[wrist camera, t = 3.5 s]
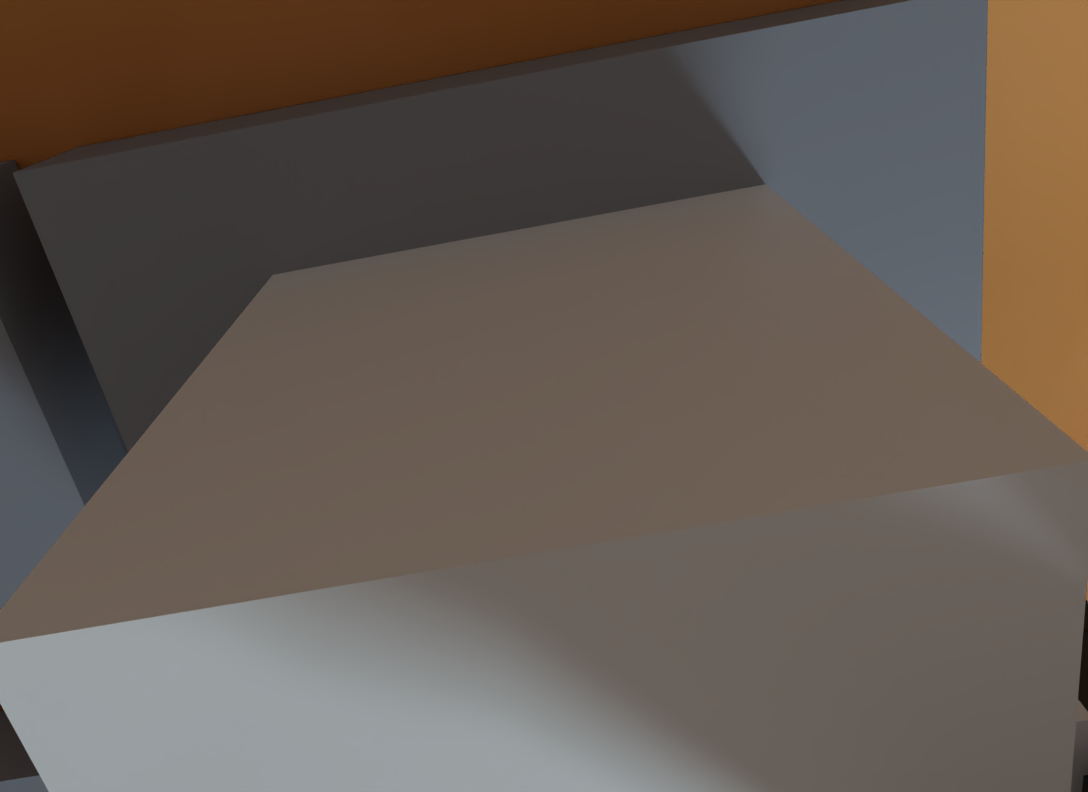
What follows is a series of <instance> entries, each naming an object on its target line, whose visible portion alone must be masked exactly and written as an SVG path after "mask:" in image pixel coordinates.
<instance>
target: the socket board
mask: <svg viewBox="0 0 1088 792" xmlns="http://www.w3.org/2000/svg"><path fill="white" fill-rule="evenodd" d="M16 171H18V167H17V165H16V162H15V160H10V161H5V162H0V610H1V608H2V607H3V606H4V605H5V603H6V602H7V601H8V600H9V599H10V597H11V596H12V595H13V594H14V592H15V591H16V590H17V589H18V587H19V586H20V585H21V584H22V583H23V581H24V580H25V579H26V578H27V576H28V575H29V574H30V573H31V571H32V570H33V569H34V568H35V567H36V565H37V564H38V563H39V562H40V560H41V559H42V558H43V557H44V556H45V554H46V553H47V552H48V551H49V549H50V548H51V547H52V546H53V544H54V543H55V542H56V541H57V540H58V538H59V537H60V536H61V535H62V533H63V532H64V531H65V530H66V528H67V527H68V526H69V525H70V524H71V522H72V521H73V520H74V519H75V517H76V516H77V515H78V514H79V512H80V511H81V510H82V509H83V508H84V506H85V505H86V504H87V503H88V501H89V500H90V499H91V498H92V496H93V495H94V494H95V493H96V492H97V490H98V489H99V488H100V487H101V485H102V484H103V483H104V482H105V481H106V479H107V478H108V477H109V476H110V474H111V473H112V472H113V471H114V469H115V468H116V467H117V466H118V465H119V463H120V462H121V461H122V460H123V458H124V457H125V456H126V455H127V453H128V451H127V448H126V446H125V443H124V441H123V439H122V436H121V434H120V431H119V429H118V427H117V424H116V422H115V419H114V417H113V415H112V412H111V410H110V407H109V405H108V402H107V400H106V398H105V395H104V393H103V390H102V388H101V386H100V383H99V381H98V378H97V376H96V374H95V371H94V369H93V366H92V364H91V361H90V359H89V357H88V354H87V352H86V349H85V347H84V345H83V342H82V340H81V337H80V335H79V333H78V330H77V328H76V325H75V323H74V320H73V318H72V316H71V313H70V311H69V308H68V306H67V304H66V301H65V299H64V296H63V294H62V292H61V289H60V287H59V284H58V282H57V279H56V277H55V275H54V272H53V270H52V267H51V265H50V263H49V260H48V258H47V255H46V253H45V250H44V248H43V246H42V243H41V241H40V238H39V236H38V234H37V231H36V229H35V226H34V224H33V222H32V219H31V217H30V214H29V212H28V209H27V207H26V205H25V202H24V200H23V197H22V195H21V193H20V190H19V188H18V185H17V183H16V181H15V178H14V176H13V172H16ZM0 792H49V791H48V789H47V788H46V786H45V784H44V782H43V780H42V779H41V777H40V775H39V773H38V771H37V769H36V768H35V766H34V764H33V762H32V760H31V759H30V757H29V755H28V753H27V751H26V749H25V748H24V746H23V744H22V742H21V740H20V739H19V737H18V735H17V733H16V731H15V729H14V728H13V726H12V724H11V722H10V720H9V719H8V717H7V715H6V713H5V711H0Z"/></svg>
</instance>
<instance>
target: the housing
mask: <svg viewBox="0 0 1088 792" xmlns="http://www.w3.org/2000/svg"><path fill="white" fill-rule="evenodd" d="M1087 578H1088V452H1087V451H1086V450H1085V449H1083V448H1082V447H1081V446H1080V445H1079V444H1077V443H1076V442H1075V441H1074V440H1073V439H1071V438H1070V437H1069V436H1068V435H1067V434H1065V433H1064V432H1063V431H1062V430H1061V429H1059V428H1058V427H1057V426H1056V425H1055V424H1053V423H1052V422H1051V421H1050V420H1048V419H1047V418H1046V417H1045V416H1044V415H1042V414H1041V413H1040V412H1039V411H1038V410H1036V409H1035V408H1034V407H1033V406H1032V405H1030V404H1029V403H1028V402H1027V401H1026V400H1024V399H1023V398H1022V397H1021V396H1020V395H1018V394H1017V393H1016V392H1015V391H1014V390H1012V389H1011V388H1010V387H1009V386H1008V385H1006V384H1005V383H1004V382H1003V381H1002V380H1000V379H999V378H998V377H997V376H996V375H994V374H993V373H992V372H991V371H990V370H988V369H987V368H986V367H985V366H984V365H982V364H981V363H980V362H979V361H977V360H976V359H975V358H974V357H973V356H971V355H970V354H969V353H968V352H967V351H965V350H964V349H963V348H962V347H961V346H959V345H958V344H957V343H956V342H955V341H953V340H952V339H951V338H950V337H949V336H947V335H946V334H945V333H944V332H943V331H941V330H940V329H939V328H938V327H937V326H935V325H934V324H933V323H932V322H931V321H929V320H928V319H927V318H926V317H925V316H923V315H922V314H921V313H920V312H919V311H917V310H916V309H915V308H914V307H913V306H911V305H910V304H909V303H908V302H907V301H905V300H904V299H903V298H902V297H900V296H899V295H898V294H897V293H896V292H894V291H893V290H892V289H891V288H890V287H888V286H887V285H886V284H885V283H884V282H882V281H881V280H880V279H879V278H878V277H876V276H875V275H874V274H873V273H872V272H870V271H869V270H868V269H867V268H866V267H864V266H863V265H862V264H861V263H860V262H858V261H857V260H856V259H855V258H854V257H852V256H851V255H850V254H849V253H848V252H846V251H845V250H844V249H843V248H842V247H840V246H839V245H838V244H837V243H836V242H834V241H833V240H832V239H831V238H829V237H828V236H827V235H826V234H825V233H823V232H822V231H821V230H820V229H819V228H817V227H816V226H815V225H814V224H813V223H811V222H810V221H809V220H808V219H807V218H805V217H804V216H803V215H802V214H801V213H799V212H798V211H797V210H796V209H795V208H793V207H792V206H791V205H790V204H789V203H787V202H786V201H785V200H784V199H783V198H781V197H780V196H779V195H778V194H777V193H775V192H774V191H773V190H772V189H771V188H769V187H768V186H767V185H766V184H764V185H758V186H753V187H747V188H742V189H737V190H731V191H726V192H720V193H715V194H709V195H704V196H698V197H693V198H688V199H682V200H677V201H671V202H666V203H660V204H655V205H649V206H644V207H639V208H633V209H628V210H622V211H617V212H611V213H606V214H601V215H595V216H590V217H584V218H579V219H573V220H568V221H562V222H557V223H552V224H546V225H541V226H535V227H530V228H524V229H519V230H513V231H508V232H503V233H497V234H492V235H486V236H481V237H475V238H470V239H465V240H459V241H454V242H448V243H443V244H437V245H432V246H426V247H421V248H416V249H410V250H405V251H399V252H394V253H388V254H383V255H378V256H372V257H367V258H361V259H356V260H350V261H345V262H339V263H334V264H329V265H323V266H318V267H312V268H307V269H301V270H296V271H290V272H285V273H280V274H274V275H272V276H271V278H270V279H269V280H268V281H267V283H266V284H265V285H264V286H263V287H262V289H261V290H260V291H259V292H258V294H257V295H256V296H255V297H254V299H253V300H252V301H251V302H250V303H249V305H248V306H247V307H246V308H245V310H244V311H243V312H242V313H241V315H240V316H239V317H238V318H237V319H236V321H235V322H234V323H233V324H232V326H231V327H230V328H229V329H228V331H227V332H226V333H225V334H224V335H223V337H222V338H221V339H220V340H219V342H218V343H217V344H216V345H215V346H214V348H213V349H212V350H211V351H210V353H209V354H208V355H207V356H206V358H205V359H204V360H203V361H202V362H201V364H200V365H199V366H198V367H197V369H196V370H195V371H194V372H193V374H192V375H191V376H190V377H189V378H188V380H187V381H186V382H185V383H184V385H183V386H182V387H181V388H180V390H179V391H178V392H177V393H176V394H175V396H174V397H173V398H172V399H171V401H170V402H169V403H168V404H167V406H166V407H165V408H164V409H163V410H162V412H161V413H160V414H159V415H158V417H157V418H156V419H155V420H154V421H153V423H152V424H151V425H150V426H149V428H148V429H147V430H146V431H145V433H144V434H143V435H142V436H141V437H140V439H139V440H138V441H137V442H136V444H135V445H134V446H133V447H132V449H131V450H130V451H129V452H128V453H127V455H126V456H125V457H124V458H123V460H122V461H121V462H120V463H119V465H118V466H117V467H116V468H115V469H114V471H113V472H112V473H111V474H110V476H109V477H108V478H107V479H106V481H105V482H104V483H103V484H102V485H101V487H100V488H99V489H98V490H97V492H96V493H95V494H94V495H93V496H92V498H91V499H90V500H89V501H88V503H87V504H86V505H85V506H84V508H83V509H82V510H81V511H80V512H79V514H78V515H77V516H76V517H75V519H74V520H73V521H72V522H71V524H70V525H69V526H68V527H67V528H66V530H65V531H64V532H63V533H62V535H61V536H60V537H59V538H58V540H57V541H56V542H55V543H54V544H53V546H52V547H51V548H50V549H49V551H48V552H47V553H46V554H45V556H44V557H43V558H42V559H41V560H40V562H39V563H38V564H37V565H36V567H35V568H34V569H33V570H32V571H31V573H30V574H29V575H28V576H27V578H26V579H25V580H24V581H23V583H22V584H21V585H20V586H19V587H18V589H17V590H16V591H15V592H14V594H13V595H12V596H11V597H10V599H9V600H8V601H7V602H6V603H5V605H4V606H3V607H2V608H1V610H0V704H1V706H2V708H3V709H4V711H5V713H6V715H7V717H8V719H9V720H10V722H11V724H12V726H13V728H14V729H15V731H16V733H17V735H18V737H19V739H20V740H21V742H22V744H23V746H24V748H25V749H26V751H27V753H28V755H29V757H30V759H31V760H32V762H33V764H34V766H35V768H36V769H37V771H38V773H39V775H40V777H41V779H42V780H43V782H44V784H45V786H46V788H47V789H48V791H49V792H1071V780H1072V768H1073V755H1074V742H1075V730H1076V717H1077V704H1078V692H1079V679H1080V666H1081V654H1082V641H1083V628H1084V616H1085V603H1086V590H1087Z"/></svg>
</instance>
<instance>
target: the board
mask: <svg viewBox="0 0 1088 792" xmlns="http://www.w3.org/2000/svg"><path fill="white" fill-rule="evenodd" d="M987 14H988V0H841V1H836V2H831V3H825V4H820V5H815V6H810V7H805V8H800V9H794V10H789V11H784V12H779V13H774V14H768V15H763V16H758V17H753V18H748V19H742V20H737V21H732V22H727V23H722V24H716V25H711V26H706V27H701V28H696V29H690V30H685V31H680V32H675V33H670V34H664V35H659V36H654V37H649V38H644V39H639V40H633V41H628V42H623V43H618V44H613V45H607V46H602V47H597V48H592V49H587V50H581V51H576V52H571V53H566V54H561V55H555V56H550V57H545V58H540V59H535V60H529V61H524V62H519V63H514V64H509V65H503V66H498V67H493V68H488V69H483V70H478V71H472V72H467V73H462V74H457V75H452V76H446V77H441V78H436V79H431V80H426V81H420V82H415V83H410V84H405V85H400V86H394V87H389V88H384V89H379V90H374V91H368V92H363V93H358V94H353V95H348V96H342V97H337V98H332V99H327V100H322V101H317V102H311V103H306V104H301V105H296V106H291V107H285V108H280V109H275V110H270V111H265V112H259V113H254V114H249V115H244V116H239V117H233V118H228V119H223V120H218V121H213V122H207V123H202V124H197V125H192V126H187V127H181V128H176V129H171V130H166V131H161V132H156V133H150V134H145V135H140V136H135V137H130V138H124V139H119V140H114V141H109V142H104V143H98V144H93V145H88V146H83V147H78V148H75V149H72V150H69V151H67V152H64V153H62V154H59V155H57V156H54V157H51V158H49V159H46V160H44V161H41V162H39V163H36V164H34V165H31V166H28V167H26V168H23V169H21V170H18V171H16V172H13V176H14V178H15V181H16V183H17V185H18V188H19V190H20V193H21V195H22V197H23V200H24V202H25V205H26V207H27V209H28V212H29V214H30V217H31V219H32V222H33V224H34V226H35V229H36V231H37V234H38V236H39V238H40V241H41V243H42V246H43V248H44V250H45V253H46V255H47V258H48V260H49V263H50V265H51V267H52V270H53V272H54V275H55V277H56V279H57V282H58V284H59V287H60V289H61V292H62V294H63V296H64V299H65V301H66V304H67V306H68V308H69V311H70V313H71V316H72V318H73V320H74V323H75V325H76V328H77V330H78V333H79V335H80V337H81V340H82V342H83V345H84V347H85V349H86V352H87V354H88V357H89V359H90V361H91V364H92V366H93V369H94V371H95V374H96V376H97V378H98V381H99V383H100V386H101V388H102V390H103V393H104V395H105V398H106V400H107V402H108V405H109V407H110V410H111V412H112V415H113V417H114V419H115V422H116V424H117V427H118V429H119V431H120V434H121V436H122V439H123V441H124V443H125V446H126V448H127V451H128V452H129V451H130V450H131V449H132V447H133V446H134V445H135V444H136V442H137V441H138V440H139V439H140V437H141V436H142V435H143V434H144V433H145V431H146V430H147V429H148V428H149V426H150V425H151V424H152V423H153V421H154V420H155V419H156V418H157V417H158V415H159V414H160V413H161V412H162V410H163V409H164V408H165V407H166V406H167V404H168V403H169V402H170V401H171V399H172V398H173V397H174V396H175V394H176V393H177V392H178V391H179V390H180V388H181V387H182V386H183V385H184V383H185V382H186V381H187V380H188V378H189V377H190V376H191V375H192V374H193V372H194V371H195V370H196V369H197V367H198V366H199V365H200V364H201V362H202V361H203V360H204V359H205V358H206V356H207V355H208V354H209V353H210V351H211V350H212V349H213V348H214V346H215V345H216V344H217V343H218V342H219V340H220V339H221V338H222V337H223V335H224V334H225V333H226V332H227V331H228V329H229V328H230V327H231V326H232V324H233V323H234V322H235V321H236V319H237V318H238V317H239V316H240V315H241V313H242V312H243V311H244V310H245V308H246V307H247V306H248V305H249V303H250V302H251V301H252V300H253V299H254V297H255V296H256V295H257V294H258V292H259V291H260V290H261V289H262V287H263V286H264V285H265V284H266V283H267V281H268V280H269V279H270V278H271V276H272V275H274V274H280V273H285V272H290V271H296V270H301V269H307V268H312V267H318V266H323V265H329V264H334V263H339V262H345V261H350V260H356V259H361V258H367V257H372V256H378V255H383V254H388V253H394V252H399V251H405V250H410V249H416V248H421V247H426V246H432V245H437V244H443V243H448V242H454V241H459V240H465V239H470V238H475V237H481V236H486V235H492V234H497V233H503V232H508V231H513V230H519V229H524V228H530V227H535V226H541V225H546V224H552V223H557V222H562V221H568V220H573V219H579V218H584V217H590V216H595V215H601V214H606V213H611V212H617V211H622V210H628V209H633V208H639V207H644V206H649V205H655V204H660V203H666V202H671V201H677V200H682V199H688V198H693V197H698V196H704V195H709V194H715V193H720V192H726V191H731V190H737V189H742V188H747V187H753V186H758V185H764V184H766V185H767V186H768V187H769V188H771V189H772V190H773V191H774V192H775V193H777V194H778V195H779V196H780V197H781V198H783V199H784V200H785V201H786V202H787V203H789V204H790V205H791V206H792V207H793V208H795V209H796V210H797V211H798V212H799V213H801V214H802V215H803V216H804V217H805V218H807V219H808V220H809V221H810V222H811V223H813V224H814V225H815V226H816V227H817V228H819V229H820V230H821V231H822V232H823V233H825V234H826V235H827V236H828V237H829V238H831V239H832V240H833V241H834V242H836V243H837V244H838V245H839V246H840V247H842V248H843V249H844V250H845V251H846V252H848V253H849V254H850V255H851V256H852V257H854V258H855V259H856V260H857V261H858V262H860V263H861V264H862V265H863V266H864V267H866V268H867V269H868V270H869V271H870V272H872V273H873V274H874V275H875V276H876V277H878V278H879V279H880V280H881V281H882V282H884V283H885V284H886V285H887V286H888V287H890V288H891V289H892V290H893V291H894V292H896V293H897V294H898V295H899V296H900V297H902V298H903V299H904V300H905V301H907V302H908V303H909V304H910V305H911V306H913V307H914V308H915V309H916V310H917V311H919V312H920V313H921V314H922V315H923V316H925V317H926V318H927V319H928V320H929V321H931V322H932V323H933V324H934V325H935V326H937V327H938V328H939V329H940V330H941V331H943V332H944V333H945V334H946V335H947V336H949V337H950V338H951V339H952V340H953V341H955V342H956V343H957V344H958V345H959V346H961V347H962V348H963V349H964V350H965V351H967V352H968V353H969V354H970V355H971V356H973V357H974V358H975V359H976V360H977V361H979V362H980V363H981V332H982V279H983V226H984V173H985V120H986V67H987Z"/></svg>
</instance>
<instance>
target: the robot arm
mask: <svg viewBox="0 0 1088 792" xmlns="http://www.w3.org/2000/svg"><path fill="white" fill-rule="evenodd" d="M1071 792H1088V602H1087V600H1086V603H1085V616H1084V628H1083V641H1082V654H1081V666H1080V679H1079V692H1078V704H1077V717H1076V730H1075V742H1074V755H1073V768H1072V780H1071Z"/></svg>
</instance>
